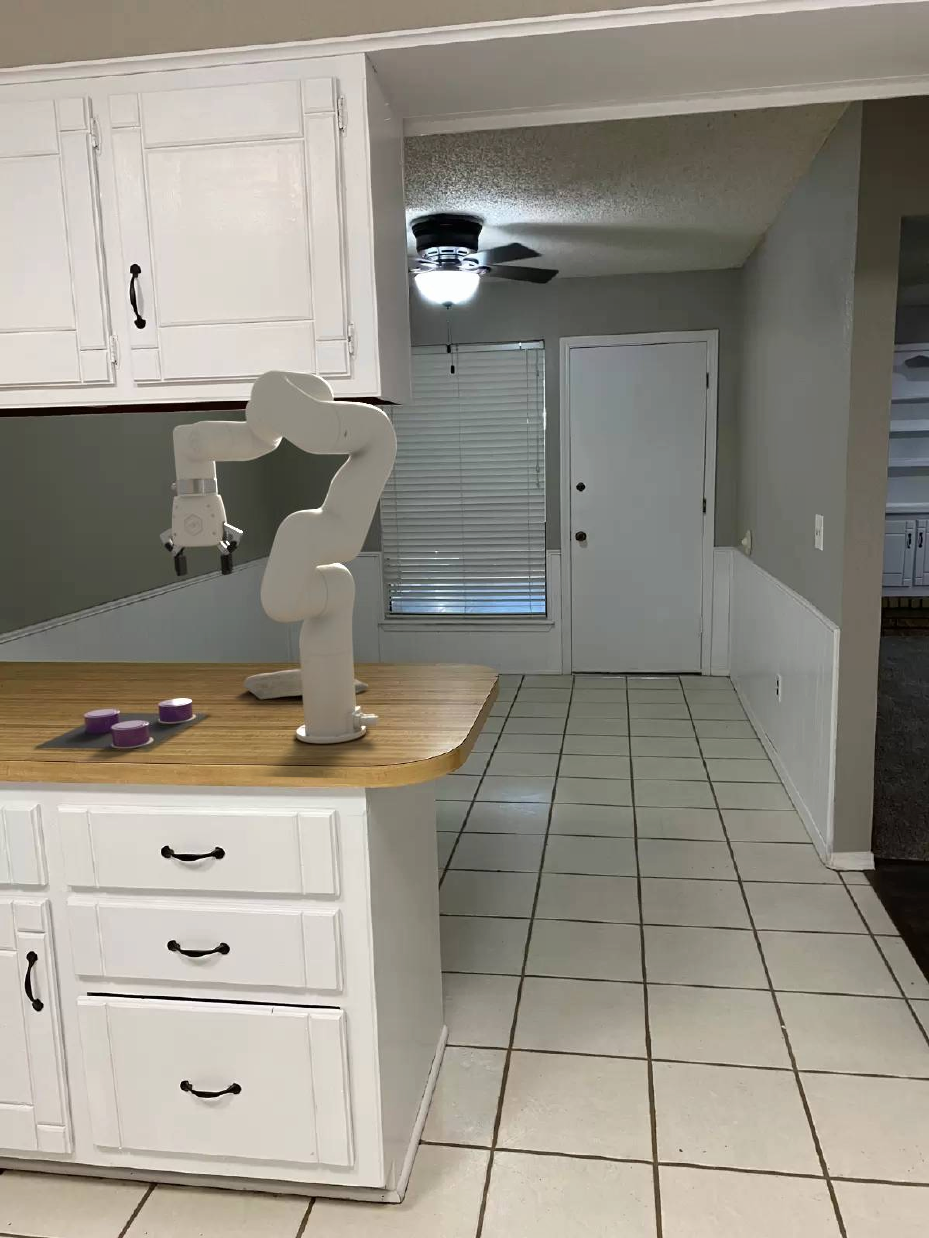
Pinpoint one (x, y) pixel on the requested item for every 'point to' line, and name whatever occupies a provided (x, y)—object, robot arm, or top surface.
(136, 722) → the purple short cylinder
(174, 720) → the dish
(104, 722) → the dish
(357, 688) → the stone
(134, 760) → the top surface
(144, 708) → the top surface
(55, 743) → the mat
